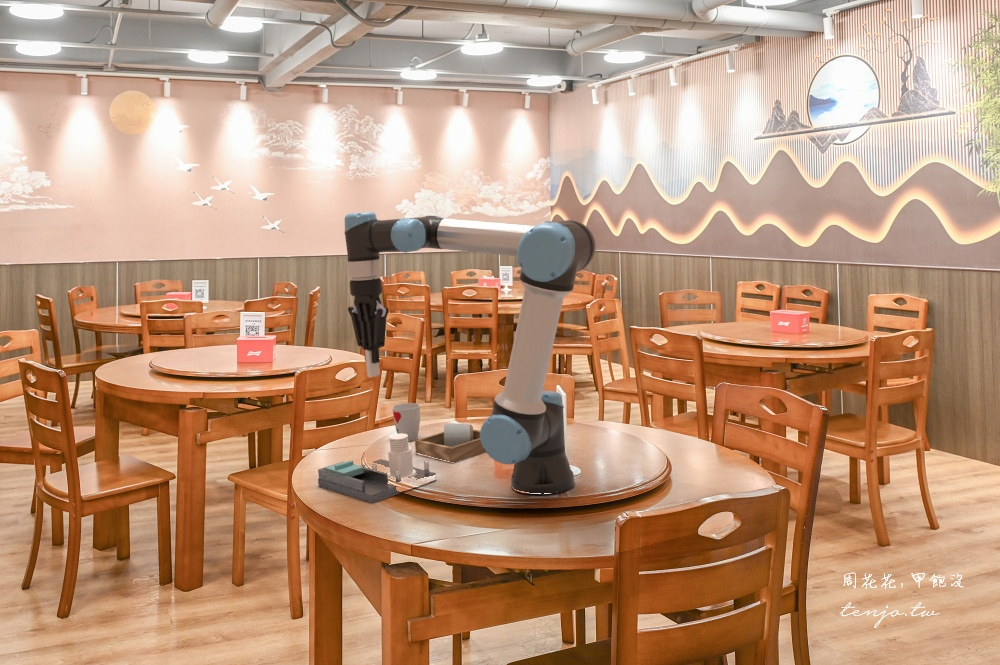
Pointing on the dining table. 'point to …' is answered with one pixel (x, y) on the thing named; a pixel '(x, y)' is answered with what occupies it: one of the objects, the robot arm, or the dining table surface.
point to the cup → (407, 419)
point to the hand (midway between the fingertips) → (373, 375)
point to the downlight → (400, 456)
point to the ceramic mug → (457, 434)
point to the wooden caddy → (460, 452)
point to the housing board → (366, 482)
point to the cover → (346, 469)
